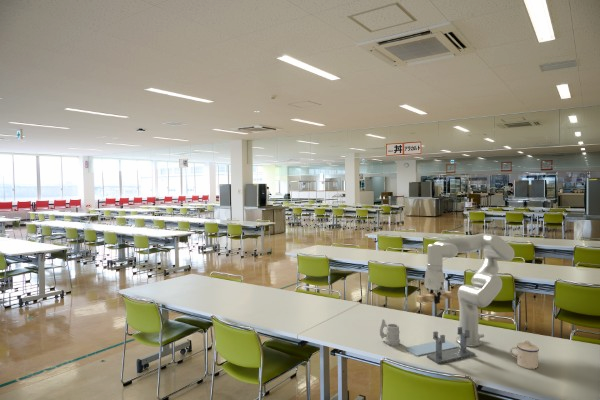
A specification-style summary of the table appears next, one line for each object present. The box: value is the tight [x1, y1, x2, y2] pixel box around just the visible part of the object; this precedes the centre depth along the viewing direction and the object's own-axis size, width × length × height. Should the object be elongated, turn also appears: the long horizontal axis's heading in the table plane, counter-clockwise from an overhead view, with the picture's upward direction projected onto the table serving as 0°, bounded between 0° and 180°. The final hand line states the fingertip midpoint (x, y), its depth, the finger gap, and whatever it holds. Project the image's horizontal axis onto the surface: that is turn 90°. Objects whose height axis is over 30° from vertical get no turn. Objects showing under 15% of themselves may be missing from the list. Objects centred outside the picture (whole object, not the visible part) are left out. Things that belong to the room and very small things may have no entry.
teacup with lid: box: [509, 340, 540, 370], centre depth 185 cm, size 12×9×12 cm
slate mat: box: [403, 339, 460, 357], centre depth 204 cm, size 28×10×1 cm, turn 113°
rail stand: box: [426, 326, 476, 365], centre depth 193 cm, size 24×8×13 cm, turn 113°
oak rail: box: [415, 290, 453, 304], centre depth 201 cm, size 22×3×3 cm, turn 115°
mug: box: [379, 318, 401, 347], centre depth 211 cm, size 8×12×12 cm, turn 50°
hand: (434, 302), depth 201 cm, fingers closed on oak rail, 3 cm apart
